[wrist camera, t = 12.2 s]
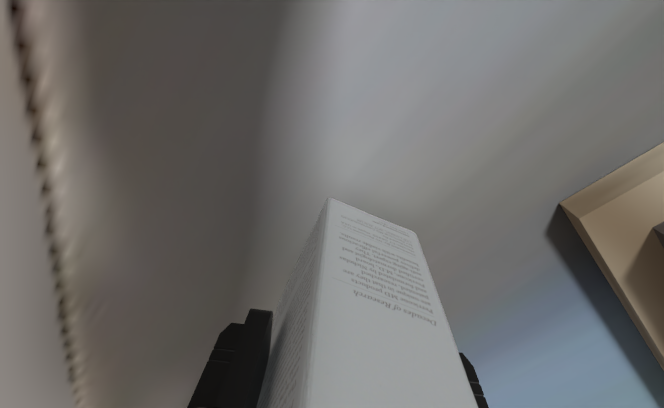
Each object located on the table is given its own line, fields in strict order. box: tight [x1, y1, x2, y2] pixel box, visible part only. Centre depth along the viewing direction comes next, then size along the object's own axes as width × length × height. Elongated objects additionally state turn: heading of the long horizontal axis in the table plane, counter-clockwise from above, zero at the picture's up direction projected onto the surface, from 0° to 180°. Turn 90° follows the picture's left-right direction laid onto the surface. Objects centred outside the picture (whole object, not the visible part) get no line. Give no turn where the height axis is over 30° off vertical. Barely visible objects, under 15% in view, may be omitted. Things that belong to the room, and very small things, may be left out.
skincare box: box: [256, 198, 478, 408], centre depth 11 cm, size 6×4×12 cm
